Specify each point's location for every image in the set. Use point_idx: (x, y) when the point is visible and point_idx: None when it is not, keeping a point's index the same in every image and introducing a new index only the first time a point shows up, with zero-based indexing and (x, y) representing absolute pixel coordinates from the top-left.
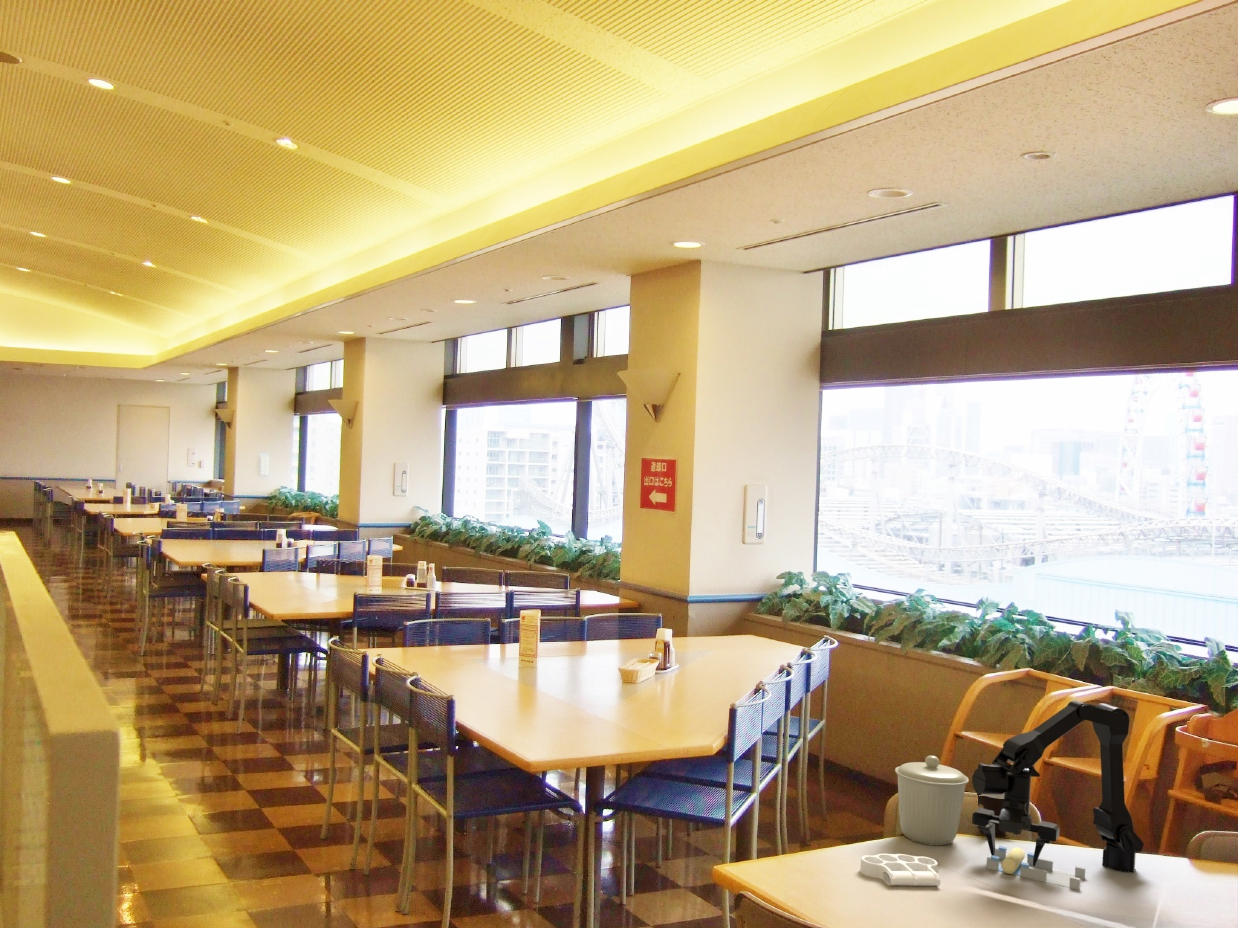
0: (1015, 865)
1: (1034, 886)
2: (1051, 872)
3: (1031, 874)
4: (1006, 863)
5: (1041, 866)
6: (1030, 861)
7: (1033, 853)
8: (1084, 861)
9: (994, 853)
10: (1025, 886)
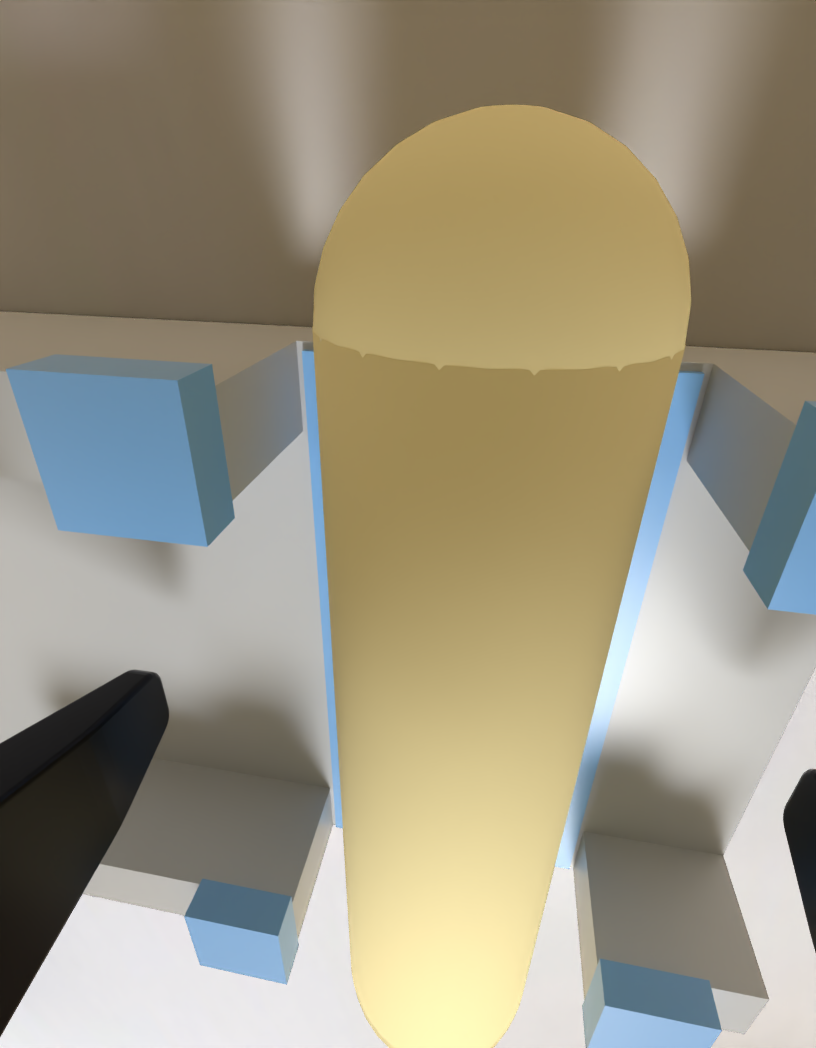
0: (315, 320)
1: (65, 164)
2: None
3: (78, 343)
4: (550, 144)
5: (170, 785)
6: (275, 834)
7: (228, 965)
8: (103, 1004)
9: (796, 852)
10: (156, 15)
